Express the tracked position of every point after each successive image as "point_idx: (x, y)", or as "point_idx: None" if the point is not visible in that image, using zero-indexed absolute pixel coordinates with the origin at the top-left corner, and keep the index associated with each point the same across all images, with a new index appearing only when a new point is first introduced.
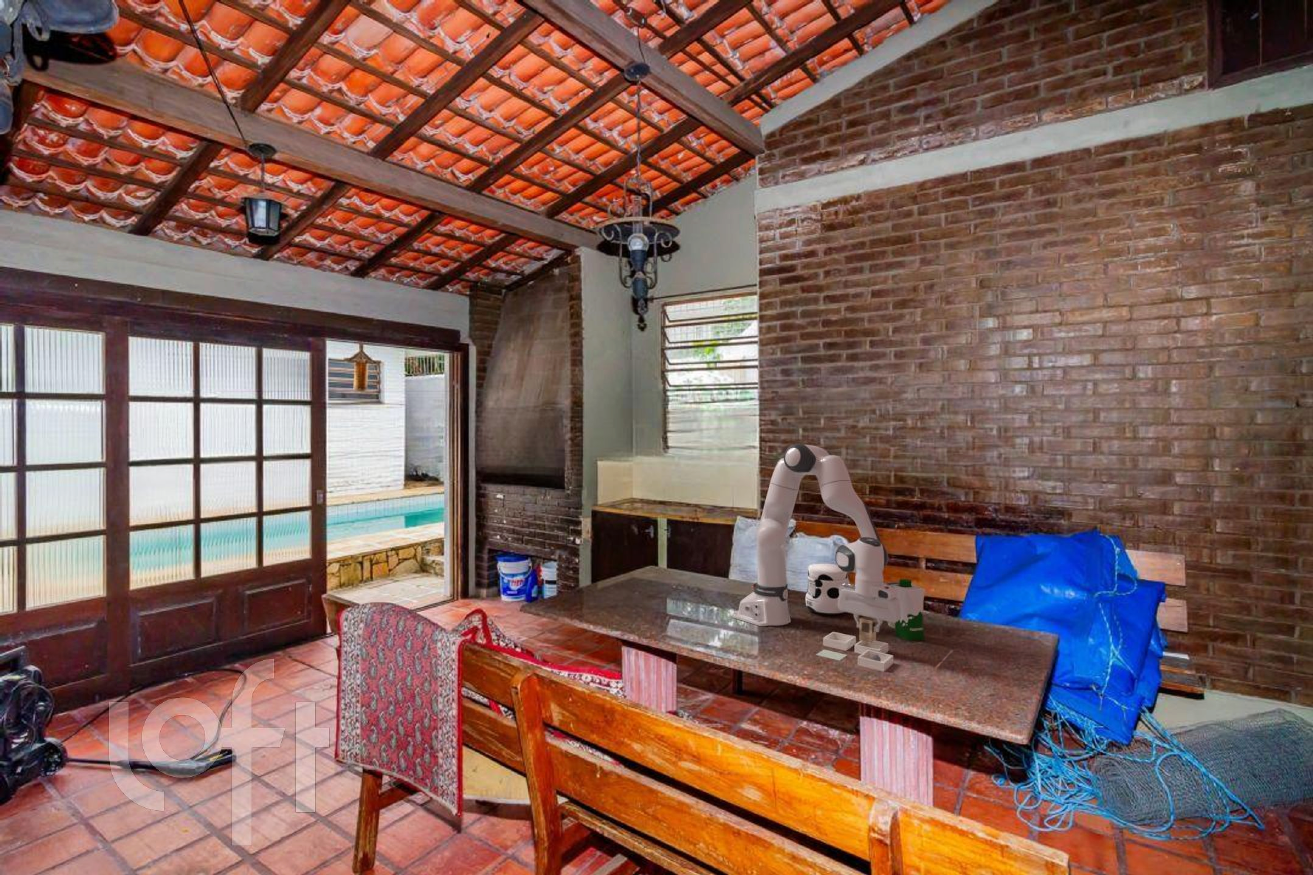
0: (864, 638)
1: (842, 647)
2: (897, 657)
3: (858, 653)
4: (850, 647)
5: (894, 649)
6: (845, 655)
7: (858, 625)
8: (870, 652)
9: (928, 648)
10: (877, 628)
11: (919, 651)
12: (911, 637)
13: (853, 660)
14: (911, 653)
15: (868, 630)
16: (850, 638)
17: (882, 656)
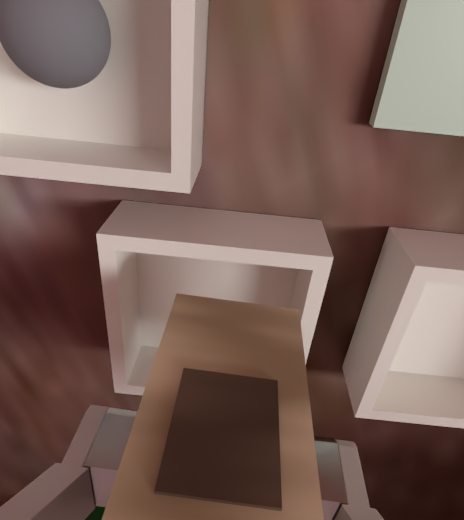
0: (244, 320)
1: (432, 243)
2: (52, 297)
3: (289, 221)
4: (368, 302)
5: (126, 395)
6: (386, 102)
7: (336, 463)
8: (155, 167)
9: (10, 459)
10: (70, 444)
11: (16, 418)
12: (98, 515)
13: (297, 56)
14: (29, 382)
15: (183, 391)
16: (389, 396)
17: (43, 152)
